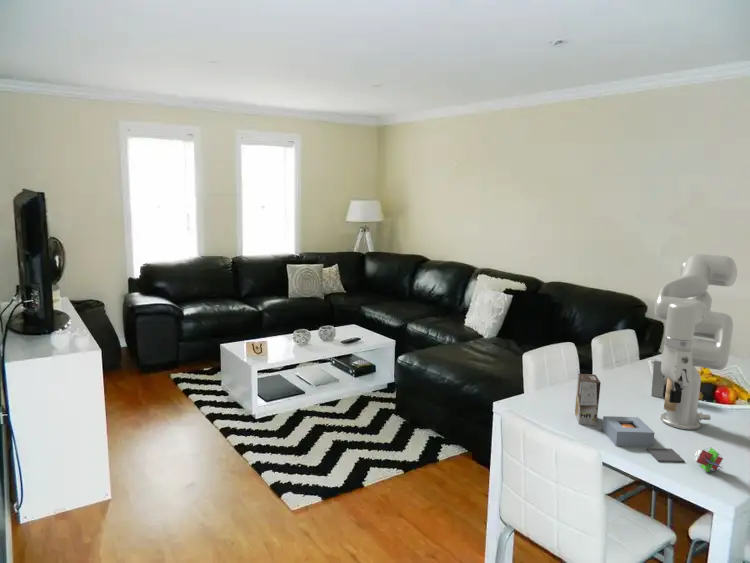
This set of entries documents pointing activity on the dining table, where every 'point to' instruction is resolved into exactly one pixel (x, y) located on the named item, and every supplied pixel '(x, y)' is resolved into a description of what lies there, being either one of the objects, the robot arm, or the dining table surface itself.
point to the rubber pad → (665, 455)
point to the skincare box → (657, 378)
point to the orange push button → (627, 426)
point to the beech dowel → (667, 404)
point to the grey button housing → (628, 431)
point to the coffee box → (587, 399)
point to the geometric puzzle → (708, 459)
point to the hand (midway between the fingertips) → (671, 399)
